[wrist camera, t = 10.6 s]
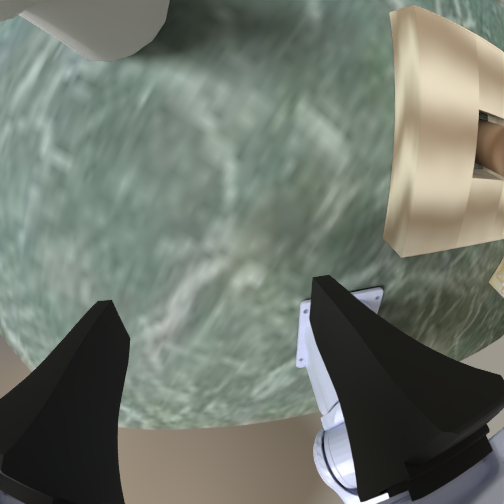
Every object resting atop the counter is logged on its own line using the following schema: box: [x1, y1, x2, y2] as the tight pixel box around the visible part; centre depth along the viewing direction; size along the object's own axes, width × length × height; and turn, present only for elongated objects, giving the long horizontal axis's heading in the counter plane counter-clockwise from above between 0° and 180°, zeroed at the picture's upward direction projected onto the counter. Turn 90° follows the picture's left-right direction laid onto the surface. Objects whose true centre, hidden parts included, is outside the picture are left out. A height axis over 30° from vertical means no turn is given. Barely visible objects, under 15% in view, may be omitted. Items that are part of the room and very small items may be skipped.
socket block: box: [383, 5, 504, 258], centre depth 16 cm, size 18×18×3 cm
